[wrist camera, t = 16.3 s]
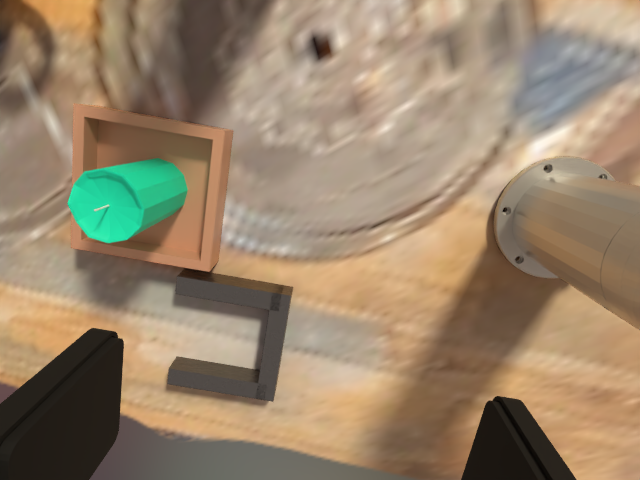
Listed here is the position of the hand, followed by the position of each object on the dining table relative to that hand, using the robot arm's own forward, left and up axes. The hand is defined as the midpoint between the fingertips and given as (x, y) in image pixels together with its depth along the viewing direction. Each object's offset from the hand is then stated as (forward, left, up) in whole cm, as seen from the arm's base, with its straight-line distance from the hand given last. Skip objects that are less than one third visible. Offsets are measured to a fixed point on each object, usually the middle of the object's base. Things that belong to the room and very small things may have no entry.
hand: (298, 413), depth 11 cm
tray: (+17, +2, -34) cm, 38 cm away
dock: (+8, +17, -34) cm, 39 cm away
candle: (+17, +2, -34) cm, 37 cm away
